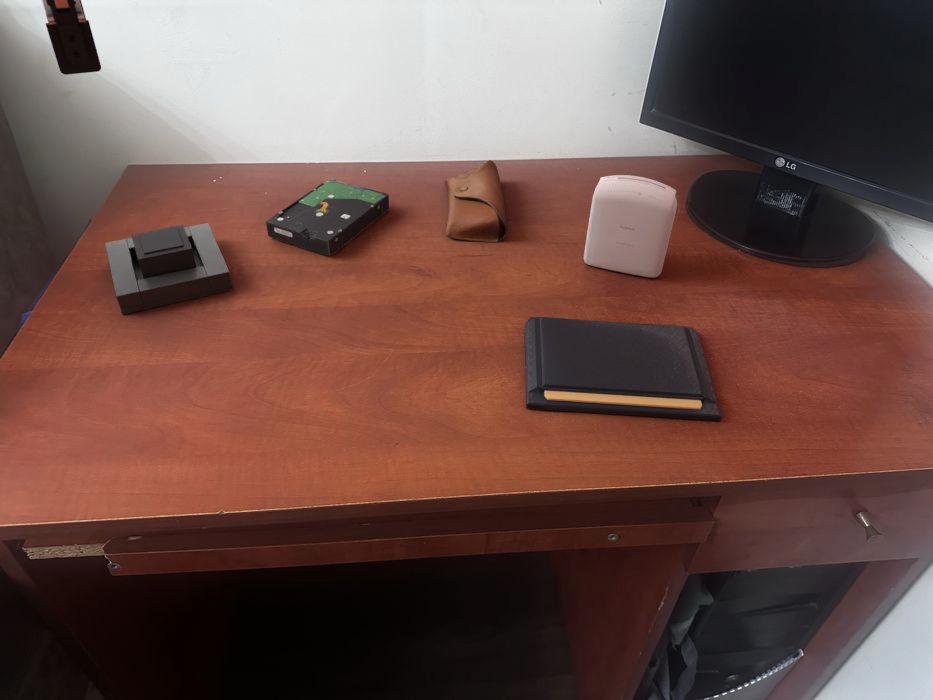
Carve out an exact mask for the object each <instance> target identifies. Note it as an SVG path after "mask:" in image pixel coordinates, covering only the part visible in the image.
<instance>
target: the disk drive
mask: <svg viewBox="0 0 933 700" xmlns="http://www.w3.org/2000/svg"><path fill="white" fill-rule="evenodd" d="M388 210H390V196H389V193H386V192H382V191H380V190H376V189H371V188H369V187H368V188H367V187H365V186H362V185H357V186H356V185H353V184H350V183H345V182H342V181H337V179H336V178H331V179H330V180H326V181H324V182H321V183H320V184H318V185H316V187H314V188H313V189H311V190H310V191H308V192H306V193H305V194H304V195H302V196H300V197H299V198H298V199H296V200H295V201H293V202H292V203H291V204H289V205H288V206H286V207H285V208H282V209H281V210H280V211H279V212H277V213H275V214H273V215H272V216H271V217H269V219H267V220H265V225H266V231H267V236H268V237H269V238H272V239H275V240H277V241H279V242H282V243H286V244H289V245H291V246H295V247H298V248H302V249H304V250H307V251H310V252H314V253H317V254H320V255H325V256H328V257H332V255H335V254H336V253H337V252H339V251H340V250H341V249H342V248H343V247H345V246H346V245H347V244H348V243H350V242H351V241H353V239H355V238H356V237H357V236H358V235H360V234H361V233H362V232H363V231H364V230H365V229H366V230H367V228H368V227H370V226H371V225H372V224H373V223H375V222H376V221H378V219H380V218H381V217H382V216H383V215H385V214H386V213H387V211H388Z"/></svg>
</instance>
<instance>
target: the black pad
mask: <svg viewBox="0 0 933 700" xmlns="http://www.w3.org/2000/svg"><path fill="white" fill-rule="evenodd" d="M184 228H185V227H184V224H181V225H175V226H170V227H164V228H159V229H155V230H154V229H153V230H148V231H144V232H138V233H134V234H131V238H132V240H133V243H134V247H135V251H136V254H137V258H138V261H139V265H140V268H141V271H142V274H143V278H144V279H145V278H150V277H155V276H159V275H164V274H169V273H173V272H178V271H183V270H187V269H192V268H197V266H196V262H195V258H194V254H193V250H192V247H191V244H190V242H189V239H188V237H187V234H186V231H185V229H184Z"/></svg>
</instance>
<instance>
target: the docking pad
mask: <svg viewBox="0 0 933 700" xmlns="http://www.w3.org/2000/svg"><path fill="white" fill-rule="evenodd" d="M184 229H185V231H186V234H187V237H188V239H189V242H190V244H191V247H192V250H193V254H194V258H195V262H196V266H197V268H192V269H187V270H183V271H178V272H173V273H169V274H164V275H159V276H155V277H150V278H145V279H144V278H143V274H142V271H141V268H140V265H139V261H138V258H137V254H136V251H135V247H134V243H133V240H132V237H129V238H122V239H119V240H113V241H107V242H104V246H105V251H106V257H107V261H108V265H109V270H110V274H111V275H110V276H111V278H112V283H113V288H114V293H115V297H116V300H117V303H118V307H119V309H120V312H121V315H122V316H125V315H128V314H133V313H137V312H138V313H139V312H142V311H146V310H150V309H154V308H159V307H163V306H167V305H173V304H177V303H181V302H185V301H190V300H195V299H198V298H203V297H207V296H212V295H215V294H219V293H224V292H229V291H233V290H234V286H233V281H232V276H231V272H230V269H229V267H228V265H227V263H226V261H225V257H224V256H223V253H222V251H221V249H220V247H219V244H218V243H217V240H216V237H215V235H214V233H213V231H212V228H211V226H210V224H209V222H205V223H200V224H195V225H190V226H186V227H184Z"/></svg>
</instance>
